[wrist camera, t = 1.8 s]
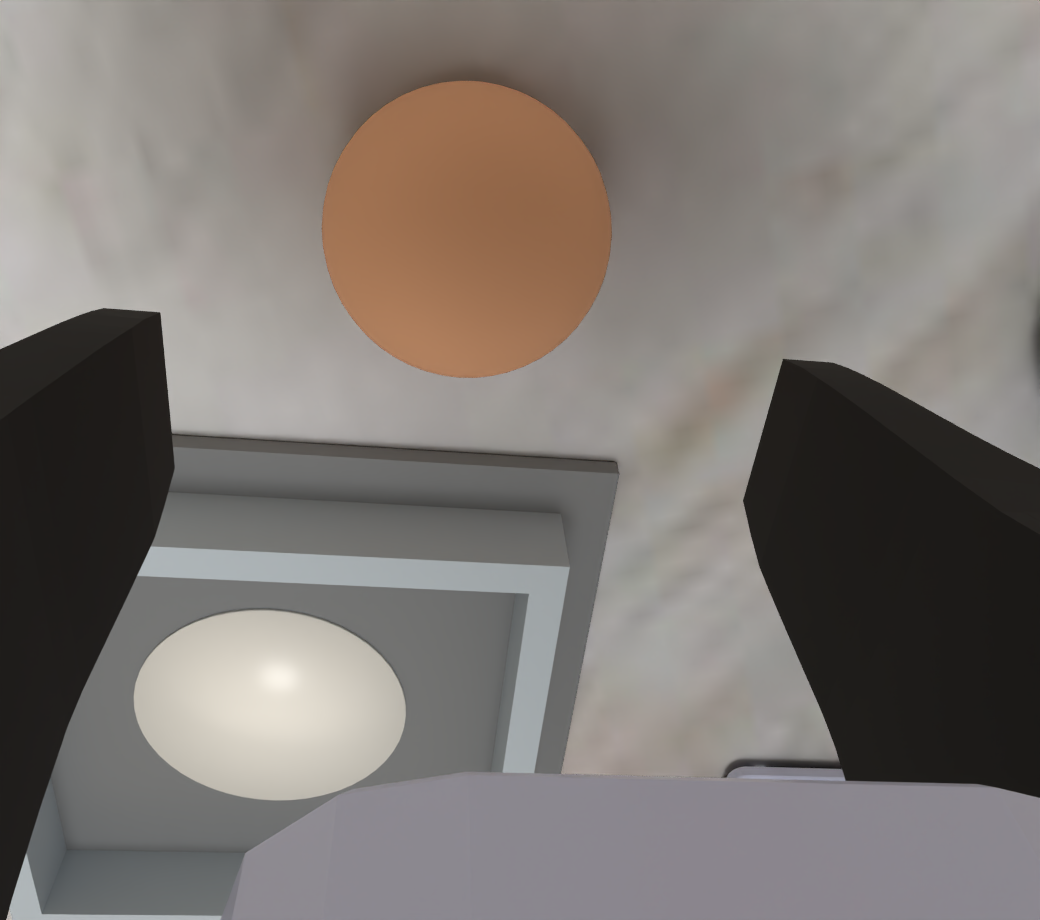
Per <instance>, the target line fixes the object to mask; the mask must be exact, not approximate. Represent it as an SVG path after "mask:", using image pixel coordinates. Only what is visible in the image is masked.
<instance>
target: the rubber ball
mask: <svg viewBox="0 0 1040 920" xmlns="http://www.w3.org/2000/svg"><path fill="white" fill-rule="evenodd" d="M611 237H612V229H611V213H610V208H609V202H608V197H607V192H606V189H605V186H604V183H603V180H602V176H601V174H600V171H599V169H598V167H597V165H596V163H595V161H594V159H593V157H592V155H591V154H590V152H589V151H588V149H587V148H586V146H585V145H584V143H583V141H582V140H581V139H580V138H579V136H578V135H577V134H576V133H575V132H574V131H573V130H572V128H571V127H570V126H569V125H568V124H567V123H566V122H565V121H564V120H563V119H562V118H561V117H560V116H558V115H557V114H556V113H555V112H554V111H553V110H551V109H550V108H548V107H547V106H545V105H544V104H542V103H541V102H539V101H538V100H536V99H534V98H532V97H530V96H528V95H526V94H524V93H522V92H520V91H517V90H514V89H511V88H508V87H505V86H502V85H498V84H492V83H487V82H481V81H452V82H442V83H437V84H433V85H429V86H425V87H421V88H419V89H416V90H414V91H411V92H409V93H406V94H404V95H402V96H400V97H398V98H397V99H395V100H393V101H391V102H390V103H388V104H386V105H385V106H384V107H382V108H381V109H380V110H378V111H377V112H376V113H375V114H373V115H372V116H371V117H370V118H369V119H368V120H367V121H366V122H365V123H364V124H363V125H362V126H361V127H360V128H359V129H358V130H357V132H356V133H355V134H354V136H353V137H352V138H351V140H350V141H349V143H348V144H347V145H346V147H345V148H344V150H343V152H342V153H341V155H340V157H339V159H338V161H337V163H336V165H335V167H334V169H333V172H332V175H331V178H330V180H329V183H328V187H327V191H326V196H325V201H324V207H323V218H322V238H323V249H324V254H325V259H326V263H327V268H328V271H329V274H330V277H331V280H332V283H333V286H334V288H335V290H336V292H337V294H338V296H339V298H340V300H341V302H342V304H343V306H344V307H345V309H346V310H347V311H348V313H349V314H350V316H351V317H352V319H353V320H354V321H355V323H356V324H357V325H358V326H359V327H360V328H361V329H362V331H363V332H364V333H365V334H366V335H367V336H368V337H369V338H370V339H371V340H372V341H373V342H375V343H376V344H377V345H378V346H379V347H380V348H382V349H383V350H385V351H386V352H388V353H389V354H391V355H392V356H393V357H395V358H397V359H399V360H401V361H403V362H405V363H407V364H408V365H411V366H414V367H416V368H419V369H421V370H424V371H427V372H431V373H435V374H439V375H444V376H451V377H459V378H477V377H486V376H493V375H498V374H502V373H507V372H510V371H512V370H515V369H518V368H521V367H524V366H526V365H528V364H530V363H532V362H534V361H536V360H538V359H540V358H541V357H543V356H544V355H546V354H547V353H549V352H551V351H552V350H554V349H555V348H556V347H557V346H558V345H559V344H561V343H562V342H563V341H564V340H565V339H566V338H567V337H568V336H569V335H570V334H571V333H572V332H573V331H574V330H575V329H576V328H577V327H578V325H579V324H580V322H581V321H582V320H583V318H584V317H585V315H586V314H587V313H588V311H589V310H590V308H591V306H592V304H593V302H594V300H595V299H596V297H597V295H598V293H599V290H600V288H601V285H602V283H603V280H604V277H605V274H606V269H607V265H608V261H609V255H610V247H611Z"/></svg>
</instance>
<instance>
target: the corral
mask: <svg viewBox="0 0 1040 920" xmlns="http://www.w3.org/2000/svg"><path fill="white" fill-rule="evenodd" d="M172 442H173V453H174V464H175V470H174V473H173V477H172V480H171V484H170V488H169V491H168V495H167V499H166V502H165V506H164V509H163V513H162V516H161V519H160V522H159V526H158V529H157V532H156V535H155V538H154V540H153V543H152V545H151V547H150V549H149V551H148V554H147V556H146V558H145V560H144V562H143V564H142V567H141V569H140V571H139V573H138V575H137V577H136V579H135V582H134V584H133V586H132V588H131V590H130V592H129V594H128V597H127V599H126V601H125V603H124V605H123V607H122V609H121V611H120V613H119V615H118V617H117V620H116V622H115V624H114V626H113V628H112V630H111V632H110V634H109V636H108V638H107V640H106V643H105V645H104V647H103V649H102V651H101V653H100V655H99V657H98V659H97V661H96V664H95V666H94V668H93V670H92V672H91V674H90V676H89V678H88V680H87V682H86V685H85V687H84V689H83V691H82V693H81V696H80V698H79V701H78V703H77V705H76V708H75V710H74V713H73V715H72V717H71V720H70V722H69V725H68V727H67V730H66V733H65V736H64V739H63V742H62V745H61V748H60V751H59V754H58V757H57V760H56V763H55V766H54V769H53V772H52V775H51V778H50V781H49V783H48V786H47V789H46V792H45V795H44V798H43V801H42V804H41V807H40V810H39V814H38V817H37V820H36V823H35V827H34V830H33V833H32V836H31V839H30V843H29V846H28V849H27V852H26V855H25V859H24V862H23V865H22V868H21V872H20V875H19V878H18V881H17V884H16V888H15V891H14V894H13V897H12V901H11V904H10V908H9V909H10V912H11V916H12V920H221V917H222V914H223V912H224V909H225V906H226V904H227V901H228V898H229V896H230V893H231V890H232V887H233V885H234V882H235V879H236V877H237V874H238V871H239V869H240V866H241V863H242V861H243V858H244V855H245V853H246V852H248V851H249V850H251V849H253V848H254V847H256V846H257V845H259V844H261V843H262V842H264V841H265V840H267V839H268V838H270V837H272V836H273V835H275V834H276V833H278V832H280V831H281V830H283V829H284V828H286V827H288V826H289V825H291V824H292V823H294V822H296V821H297V820H299V819H300V818H302V817H304V816H305V815H307V814H308V813H310V812H312V811H313V810H315V809H316V808H318V807H320V806H321V805H323V804H324V803H326V802H328V801H329V800H331V799H332V798H334V797H336V796H337V795H339V794H342V793H344V792H347V791H349V790H352V789H357V788H363V787H370V786H376V785H383V784H389V783H396V782H402V781H409V780H415V779H422V778H428V777H435V776H441V775H448V774H454V773H461V772H500V773H541V774H561V770H562V765H563V760H564V755H565V750H566V745H567V739H568V734H569V729H570V724H571V719H572V714H573V709H574V704H575V698H576V693H577V688H578V683H579V678H580V673H581V668H582V663H583V658H584V652H585V647H586V642H587V637H588V632H589V627H590V622H591V617H592V611H593V606H594V601H595V596H596V591H597V586H598V581H599V576H600V571H601V565H602V560H603V555H604V550H605V545H606V540H607V535H608V530H609V524H610V519H611V514H612V509H613V504H614V499H615V494H616V489H617V484H618V478H619V471H618V467H617V463H616V462H603V461H587V460H571V459H555V458H538V457H522V456H506V455H490V454H473V453H457V452H441V451H425V450H408V449H392V448H376V447H360V446H343V445H327V444H311V443H295V442H278V441H262V440H246V439H230V438H213V437H197V436H181V435H172Z"/></svg>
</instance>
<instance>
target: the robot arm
mask: <svg viewBox="0 0 1040 920" xmlns="http://www.w3.org/2000/svg"><path fill="white" fill-rule="evenodd" d="M174 470H175V464H174V453H173V442H172V432H171V421H170V411H169V400H168V389H167V379H166V368H165V357H164V347H163V336H162V326H161V315H160V312H147V311H133V310H120V309H106V308H103V309H99V310H95V311H91V312H88V313H85V314H82V315H79V316H76V317H74V318H71V319H69V320H66V321H64V322H61V323H59V324H57V325H54V326H52V327H50V328H47V329H45V330H43V331H41V332H38V333H36V334H34V335H32V336H29V337H27V338H25V339H23V340H20V341H18V342H16V343H13V344H11V345H9V346H7V347H4V348H2V349H0V920H6V918H7V915H8V911H9V908H10V904H11V901H12V897H13V894H14V891H15V888H16V884H17V881H18V878H19V875H20V872H21V868H22V865H23V862H24V859H25V855H26V852H27V849H28V846H29V843H30V839H31V836H32V833H33V830H34V827H35V823H36V820H37V817H38V814H39V810H40V807H41V804H42V801H43V798H44V795H45V792H46V789H47V786H48V783H49V781H50V778H51V775H52V772H53V769H54V766H55V763H56V760H57V757H58V754H59V751H60V748H61V745H62V742H63V739H64V736H65V733H66V730H67V727H68V725H69V722H70V720H71V717H72V715H73V713H74V710H75V708H76V705H77V703H78V701H79V698H80V696H81V693H82V691H83V689H84V687H85V685H86V682H87V680H88V678H89V676H90V674H91V672H92V670H93V668H94V666H95V664H96V661H97V659H98V657H99V655H100V653H101V651H102V649H103V647H104V645H105V643H106V640H107V638H108V636H109V634H110V632H111V630H112V628H113V626H114V624H115V622H116V620H117V617H118V615H119V613H120V611H121V609H122V607H123V605H124V603H125V601H126V599H127V597H128V594H129V592H130V590H131V588H132V586H133V584H134V582H135V579H136V577H137V575H138V573H139V571H140V569H141V567H142V564H143V562H144V560H145V558H146V556H147V554H148V551H149V549H150V547H151V545H152V543H153V540H154V538H155V535H156V532H157V529H158V526H159V522H160V519H161V516H162V513H163V509H164V506H165V502H166V499H167V495H168V491H169V488H170V484H171V480H172V477H173V473H174ZM743 502H744V506H745V511H746V515H747V519H748V524H749V528H750V533H751V537H752V541H753V544H754V548H755V552H756V555H757V559H758V563H759V566H760V569H761V572H762V574H763V576H764V579H765V581H766V584H767V586H768V589H769V591H770V593H771V596H772V598H773V601H774V603H775V605H776V608H777V610H778V612H779V615H780V617H781V619H782V622H783V624H784V626H785V629H786V631H787V633H788V635H789V638H790V640H791V642H792V645H793V647H794V649H795V651H796V654H797V656H798V658H799V661H800V663H801V665H802V668H803V670H804V672H805V674H806V677H807V679H808V681H809V684H810V686H811V688H812V690H813V693H814V695H815V697H816V700H817V702H818V704H819V707H820V709H821V711H822V713H823V716H824V719H825V721H826V724H827V727H828V729H829V732H830V734H831V737H832V740H833V742H834V745H835V748H836V751H837V754H838V757H839V761H840V764H841V767H842V769H823V768H785V767H747V766H745V767H739V768H736V769H734V770H732V771H731V772H730V773H729V774H728V776H727V777H726V778H706V777H665V776H624V775H582V774H541V773H500V772H461V773H454V774H448V775H441V776H435V777H428V778H422V779H415V780H409V781H402V782H396V783H389V784H383V785H376V786H370V787H363V788H357V789H352V790H349V791H347V792H344V793H342V794H339V795H337V796H336V797H334V798H332V799H331V800H329V801H328V802H326V803H324V804H323V805H321V806H320V807H318V808H316V809H315V810H313V811H312V812H310V813H308V814H307V815H305V816H304V817H302V818H300V819H299V820H297V821H296V822H294V823H292V824H291V825H289V826H288V827H286V828H284V829H283V830H281V831H280V832H278V833H276V834H275V835H273V836H272V837H270V838H268V839H267V840H265V841H264V842H262V843H261V844H259V845H257V846H256V847H254V848H253V849H251V850H249V851H248V852H246V853H245V855H244V858H243V861H242V863H241V866H240V869H239V871H238V874H237V877H236V879H235V882H234V885H233V887H232V890H231V893H230V896H229V898H228V901H227V904H226V906H225V909H224V912H223V914H222V917H221V920H1040V469H1039V468H1037V467H1035V466H1033V465H1031V464H1029V463H1027V462H1025V461H1023V460H1021V459H1019V458H1017V457H1015V456H1013V455H1011V454H1009V453H1007V452H1005V451H1003V450H1001V449H999V448H997V447H995V446H993V445H992V444H990V443H988V442H986V441H984V440H982V439H980V438H978V437H977V436H975V435H973V434H971V433H969V432H967V431H965V430H964V429H962V428H960V427H958V426H956V425H955V424H953V423H951V422H949V421H947V420H945V419H944V418H942V417H940V416H938V415H936V414H935V413H933V412H931V411H929V410H927V409H926V408H924V407H922V406H920V405H919V404H917V403H915V402H913V401H911V400H909V399H908V398H906V397H904V396H902V395H900V394H899V393H897V392H895V391H893V390H891V389H889V388H888V387H886V386H884V385H882V384H880V383H878V382H876V381H874V380H872V379H870V378H868V377H866V376H864V375H862V374H860V373H858V372H856V371H853V370H851V369H849V368H846V367H843V366H841V365H838V364H835V363H829V362H816V361H803V360H789V359H783V361H782V365H781V368H780V372H779V375H778V379H777V382H776V386H775V390H774V393H773V397H772V400H771V404H770V407H769V411H768V414H767V418H766V421H765V425H764V429H763V432H762V436H761V439H760V443H759V446H758V450H757V453H756V457H755V461H754V464H753V468H752V471H751V475H750V478H749V482H748V485H747V489H746V493H745V496H744V500H743Z"/></svg>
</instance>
